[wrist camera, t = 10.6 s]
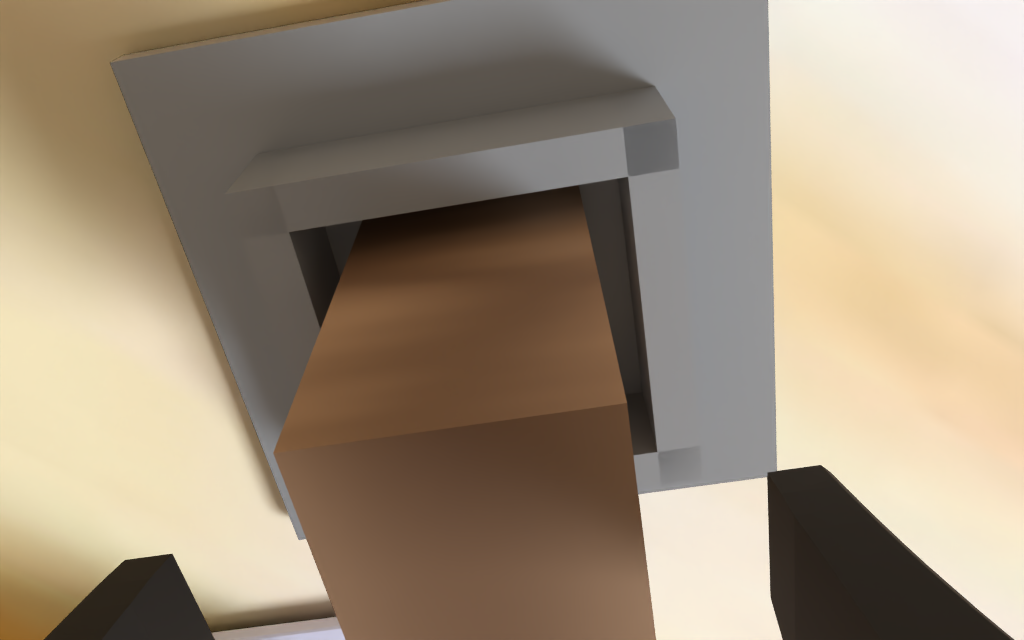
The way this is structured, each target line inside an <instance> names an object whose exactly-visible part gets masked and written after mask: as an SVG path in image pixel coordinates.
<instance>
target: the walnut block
mask: <svg viewBox="0 0 1024 640" xmlns="http://www.w3.org/2000/svg"><path fill="white" fill-rule="evenodd" d="M273 454H274V457H275V459H276V462H277V464H278V467H279V470H280V472H281V475H282V477H283V480H284V482H285V485H286V488H287V490H288V493H289V495H290V498H291V501H292V503H293V506H294V508H295V511H296V513H297V516H298V519H299V521H300V524H301V526H302V529H303V532H304V534H305V537H306V539H307V542H308V544H309V547H310V550H311V552H312V555H313V557H314V560H315V563H316V565H317V568H318V570H319V573H320V575H321V578H322V581H323V583H324V586H325V588H326V591H327V593H328V596H329V599H330V601H331V604H332V606H333V609H334V612H335V614H336V617H337V619H338V622H339V624H340V627H341V630H342V632H343V635H344V637H345V640H656V636H655V628H654V619H653V611H652V603H651V595H650V587H649V579H648V570H647V562H646V554H645V546H644V538H643V529H642V521H641V513H640V505H639V497H638V489H637V480H636V472H635V464H634V456H633V448H632V440H631V431H630V423H629V415H628V407H627V401H626V396H625V392H624V387H623V383H622V378H621V374H620V369H619V365H618V360H617V356H616V351H615V347H614V342H613V338H612V333H611V329H610V324H609V320H608V315H607V311H606V306H605V302H604V297H603V293H602V288H601V284H600V279H599V275H598V271H597V266H596V262H595V257H594V253H593V248H592V244H591V239H590V235H589V230H588V226H587V221H586V217H585V212H584V208H583V203H582V199H581V194H580V190H579V185H575V186H569V187H563V188H556V189H550V190H544V191H538V192H532V193H526V194H520V195H514V196H507V197H501V198H495V199H489V200H483V201H477V202H471V203H464V204H458V205H452V206H446V207H440V208H434V209H428V210H422V211H415V212H409V213H403V214H397V215H391V216H385V217H379V218H373V219H366V220H362V223H361V225H360V228H359V230H358V233H357V236H356V238H355V241H354V243H353V246H352V249H351V251H350V254H349V257H348V259H347V262H346V264H345V267H344V270H343V272H342V275H341V277H340V280H339V283H338V285H337V288H336V290H335V293H334V296H333V298H332V301H331V303H330V306H329V309H328V311H327V314H326V317H325V319H324V322H323V324H322V327H321V330H320V332H319V335H318V337H317V340H316V343H315V345H314V348H313V350H312V353H311V356H310V358H309V361H308V363H307V366H306V369H305V371H304V374H303V376H302V379H301V382H300V384H299V387H298V390H297V392H296V395H295V397H294V400H293V403H292V405H291V408H290V410H289V413H288V416H287V418H286V421H285V423H284V426H283V429H282V431H281V434H280V436H279V439H278V442H277V444H276V447H275V450H274V452H273Z"/></svg>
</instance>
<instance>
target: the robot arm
mask: <svg viewBox="0 0 1024 640" xmlns="http://www.w3.org/2000/svg"><path fill="white" fill-rule="evenodd" d="M767 480H768V517H769V554H770V591H771V600H772V604H773V607H774V611H775V614H776V618H777V621H778V624H779V628H780V631H781V635H782V638H783V640H1014V639H1013V638H1011V637H1010V636H1009V635H1008V634H1007V633H1005V632H1004V631H1003V630H1002V629H1001V628H999V627H998V626H997V625H996V624H995V623H993V622H992V621H991V620H990V619H989V618H987V617H986V616H985V615H984V614H983V613H981V612H980V611H979V610H978V609H977V608H975V607H974V606H973V605H972V604H971V603H970V602H969V601H967V600H966V599H965V598H964V597H963V596H962V595H961V594H959V593H958V592H957V591H956V590H955V589H954V588H953V587H951V586H950V585H949V584H948V583H947V582H946V581H945V580H943V579H942V578H941V577H940V576H939V575H938V574H937V573H935V572H934V571H933V570H932V569H931V568H930V567H929V566H927V565H926V564H925V563H924V562H923V561H922V560H921V559H920V558H919V557H918V556H917V555H915V554H914V553H913V552H912V551H911V550H910V549H909V548H908V547H907V546H906V545H905V544H904V543H902V542H901V541H900V540H899V539H898V538H897V537H896V536H895V535H894V534H893V533H892V532H891V531H890V530H889V529H888V528H887V527H885V526H884V525H883V524H882V523H881V522H880V521H879V520H878V519H877V518H876V517H875V516H874V515H873V514H872V513H871V512H870V511H869V510H868V509H867V508H866V507H865V506H864V505H863V504H862V503H861V502H860V501H859V500H858V499H857V498H856V497H855V496H854V495H853V494H852V493H851V492H850V491H849V490H848V489H847V488H846V487H845V486H844V485H843V484H842V483H841V482H840V481H839V480H838V479H837V478H836V477H835V476H834V475H833V474H832V473H831V472H829V471H828V470H827V469H825V468H824V467H823V466H821V465H818V466H811V467H804V468H796V469H789V470H782V471H774V472H767ZM44 640H345V637H344V635H343V632H342V630H341V627H340V624H339V622H338V619H337V617H330V618H323V619H315V620H307V621H299V622H291V623H283V624H275V625H267V626H260V627H252V628H244V629H236V630H228V631H220V632H212V633H211V631H210V629H209V627H208V625H207V623H206V621H205V619H204V617H203V615H202V613H201V611H200V609H199V607H198V605H197V603H196V601H195V598H194V596H193V594H192V592H191V590H190V588H189V586H188V584H187V582H186V580H185V578H184V576H183V574H182V572H181V570H180V568H179V566H178V564H177V562H176V560H175V558H174V556H173V554H167V555H159V556H152V557H145V558H137V559H130V560H125V561H124V562H122V563H121V564H120V565H119V566H118V567H117V568H116V569H115V570H114V571H113V572H112V573H110V574H109V575H108V576H107V577H106V578H105V579H104V580H103V581H102V582H101V583H100V584H99V585H98V586H97V587H96V588H95V589H94V590H93V591H92V592H91V593H90V594H89V595H88V596H87V597H86V598H85V599H84V600H83V601H82V602H81V603H80V604H79V605H78V606H77V607H76V608H75V609H74V610H73V611H72V612H71V613H70V614H69V615H68V616H67V617H66V618H65V619H64V620H63V621H62V622H61V623H60V624H59V625H58V626H57V627H56V628H55V629H54V630H53V631H52V632H51V633H50V634H49V635H48V636H47V637H46V638H45V639H44Z"/></svg>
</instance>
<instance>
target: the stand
mask: <svg viewBox="0 0 1024 640" xmlns="http://www.w3.org/2000/svg"><path fill="white" fill-rule="evenodd" d="M110 64H111V67H112V69H113V72H114V74H115V77H116V79H117V82H118V84H119V87H120V90H121V92H122V95H123V97H124V100H125V102H126V105H127V107H128V110H129V112H130V115H131V117H132V120H133V122H134V125H135V127H136V130H137V132H138V135H139V138H140V140H141V143H142V145H143V148H144V150H145V153H146V155H147V158H148V160H149V163H150V165H151V168H152V170H153V173H154V175H155V178H156V180H157V183H158V186H159V188H160V191H161V193H162V196H163V198H164V201H165V203H166V206H167V208H168V211H169V213H170V216H171V218H172V221H173V223H174V226H175V228H176V231H177V234H178V236H179V239H180V241H181V244H182V246H183V249H184V251H185V254H186V256H187V259H188V261H189V264H190V266H191V269H192V271H193V274H194V277H195V279H196V282H197V284H198V287H199V289H200V292H201V294H202V297H203V299H204V302H205V304H206V307H207V309H208V312H209V314H210V317H211V319H212V322H213V325H214V327H215V330H216V332H217V335H218V337H219V340H220V342H221V345H222V347H223V350H224V352H225V355H226V357H227V360H228V362H229V365H230V367H231V370H232V373H233V375H234V378H235V380H236V383H237V385H238V388H239V390H240V393H241V395H242V398H243V400H244V403H245V405H246V408H247V410H248V413H249V415H250V418H251V421H252V423H253V426H254V428H255V431H256V433H257V436H258V438H259V441H260V443H261V446H262V448H263V451H264V453H265V456H266V458H267V461H268V463H269V466H270V469H271V471H272V474H273V476H274V479H275V481H276V484H277V486H278V489H279V491H280V494H281V496H282V499H283V501H284V504H285V506H286V509H287V512H288V514H289V517H290V519H291V522H292V524H293V527H294V529H295V532H296V534H297V537H298V539H299V540H302V539H306V537H305V534H304V532H303V529H302V526H301V524H300V521H299V519H298V516H297V513H296V511H295V508H294V506H293V503H292V501H291V498H290V495H289V493H288V490H287V488H286V485H285V482H284V480H283V477H282V475H281V472H280V470H279V467H278V464H277V462H276V459H275V457H274V454H273V452H274V450H275V447H276V444H277V442H278V439H279V436H280V434H281V431H282V429H283V426H284V423H285V421H286V418H287V416H288V413H289V410H290V408H291V405H292V403H293V400H294V397H295V395H296V392H297V390H298V387H299V384H300V382H301V379H302V376H303V374H304V371H305V369H306V366H307V363H308V361H309V358H310V356H311V353H312V350H313V348H314V345H315V343H316V340H317V337H318V335H319V332H320V330H321V327H322V324H323V322H324V319H325V317H326V314H327V311H328V309H329V306H330V303H331V301H332V298H333V296H334V293H335V290H336V288H337V285H338V283H339V280H340V277H341V275H342V272H343V270H344V267H345V264H346V262H347V259H348V257H349V254H350V251H351V249H352V246H353V243H354V241H355V238H356V236H357V233H358V230H359V228H360V225H361V223H362V220H366V219H373V218H379V217H385V216H391V215H397V214H403V213H409V212H415V211H422V210H428V209H434V208H440V207H446V206H452V205H458V204H464V203H471V202H477V201H483V200H489V199H495V198H501V197H507V196H514V195H520V194H526V193H532V192H538V191H544V190H550V189H556V188H563V187H569V186H575V185H579V190H580V194H581V199H582V203H583V208H584V212H585V217H586V221H587V226H588V230H589V235H590V239H591V244H592V248H593V253H594V257H595V262H596V266H597V271H598V275H599V279H600V284H601V288H602V293H603V297H604V302H605V306H606V311H607V315H608V320H609V324H610V329H611V333H612V338H613V342H614V347H615V351H616V356H617V360H618V365H619V369H620V374H621V378H622V383H623V387H624V392H625V396H626V401H627V407H628V415H629V423H630V431H631V440H632V448H633V456H634V464H635V472H636V480H637V489H638V494H644V493H651V492H659V491H666V490H673V489H681V488H688V487H696V486H703V485H711V484H718V483H725V482H733V481H740V480H748V479H755V478H763V477H767V472H774V471H777V456H776V402H775V349H774V295H773V242H772V188H771V135H770V81H769V27H768V0H423V1H417V2H412V3H406V4H401V5H396V6H390V7H385V8H379V9H374V10H368V11H363V12H357V13H352V14H346V15H341V16H335V17H330V18H324V19H319V20H313V21H308V22H302V23H297V24H291V25H286V26H280V27H275V28H269V29H264V30H258V31H253V32H247V33H242V34H236V35H231V36H225V37H220V38H214V39H209V40H203V41H198V42H192V43H187V44H181V45H176V46H171V47H165V48H160V49H154V50H149V51H143V52H138V53H132V54H127V55H123V56H121V57H119V58H117V59H115V60H114V61H112V62H110Z"/></svg>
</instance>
